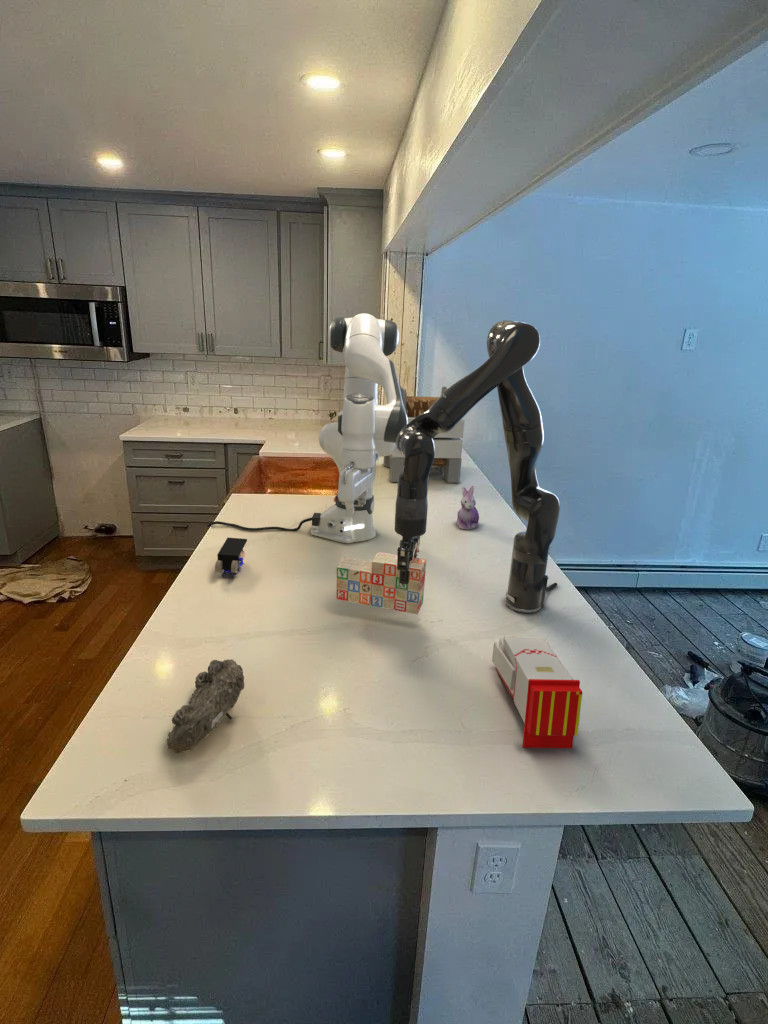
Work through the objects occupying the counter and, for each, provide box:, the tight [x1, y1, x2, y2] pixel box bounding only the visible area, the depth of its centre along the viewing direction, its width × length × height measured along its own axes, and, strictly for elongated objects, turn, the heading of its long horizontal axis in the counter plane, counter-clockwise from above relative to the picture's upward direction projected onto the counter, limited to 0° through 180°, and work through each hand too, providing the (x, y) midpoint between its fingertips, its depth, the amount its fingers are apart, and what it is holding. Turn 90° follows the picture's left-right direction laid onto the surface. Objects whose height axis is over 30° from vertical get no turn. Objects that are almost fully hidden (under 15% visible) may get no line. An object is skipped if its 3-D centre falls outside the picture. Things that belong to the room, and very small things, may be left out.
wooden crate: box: [383, 384, 465, 484], centre depth 268 cm, size 34×33×41 cm
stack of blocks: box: [335, 551, 427, 615], centre depth 141 cm, size 21×6×12 cm, turn 74°
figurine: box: [456, 485, 480, 530], centre depth 208 cm, size 9×10×15 cm
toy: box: [491, 636, 583, 749], centre depth 115 cm, size 12×13×30 cm
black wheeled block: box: [214, 537, 248, 578], centre depth 166 cm, size 7×8×15 cm
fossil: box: [166, 658, 245, 754], centre depth 106 cm, size 22×10×15 cm
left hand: (356, 509), depth 150 cm, fingers open, 8 cm apart
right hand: (407, 577), depth 139 cm, fingers closed on stack of blocks, 6 cm apart
